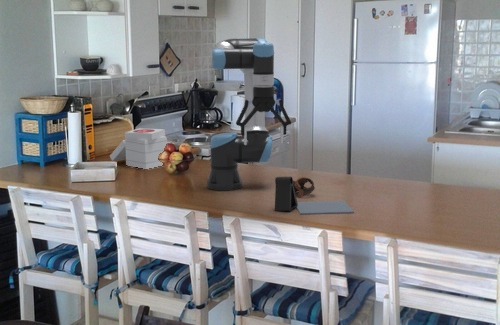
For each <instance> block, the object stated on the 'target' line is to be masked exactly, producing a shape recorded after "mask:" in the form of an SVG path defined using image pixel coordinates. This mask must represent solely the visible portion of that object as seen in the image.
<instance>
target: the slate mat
mask: <svg viewBox="0 0 500 325" xmlns="http://www.w3.org/2000/svg"><path fill="white" fill-rule="evenodd" d="M297 203H298V206H296V207H295V208H296V210H297V211H298V213H299V215H322V214H323V215H328V214H329V215H330V214H332V215H334V214H355V211H354V210H353V209H352V208H351V206H349V204H348V203H347V202H346V201H345V200H328V201H327V200H324V201H323V200H319V201H297Z"/></svg>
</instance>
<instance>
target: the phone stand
mask: <svg viewBox="0 0 500 325" xmlns="http://www.w3.org/2000/svg"><path fill="white" fill-rule="evenodd" d="M293 181H294V179H293V176H276V177H275V179H274V182H275V193H274V197H275V198H274V211H275V212H290V211H292V210H294V209H295V208H296V206H298V203H297V202H298V200H297V193H295V190H294V186H293Z"/></svg>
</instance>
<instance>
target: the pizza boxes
mask: <svg viewBox="0 0 500 325" xmlns="http://www.w3.org/2000/svg"><path fill="white" fill-rule="evenodd" d="M166 144H167V145H168V138H167V136H166V129H165V128H164V129H163V128H161V129H160V128H142V127H141V128H140V127H139V128H135V129H132V130H129V131H125V132H124V139H123V140H122V141H120V143H119V144H117V146H116V148H115V149H114V150H113V151H112V152H111V153H110V155H109V158H110V160H111V161H112V162H114V161H119V160H125V165H128V166H133V167H138V168H143V169H142V170H144V169H148V170H150V169H149V168H152V169H155V168H154V167H157V168H159V167H158V166H162V165H163V163H162V162H160V161H159V160H158V156H159V154H160V153H162V152H163V151H164V148H165V146H166ZM133 167H132V168H133ZM162 167H163V166H162ZM138 168H137V169H138Z"/></svg>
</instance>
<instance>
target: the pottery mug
mask: <svg viewBox="0 0 500 325" xmlns="http://www.w3.org/2000/svg"><path fill="white" fill-rule="evenodd" d="M306 183H309V184H310V186H309V187H307V186H305V184H306ZM293 186H294V190H295V194H297V196H298V197H299V198H302V197H303V196H306V195H309V194H312V193H313V192H314V191H315V189H316V188H315V183H314V181H313V180H312V179H311V178H308V177H305V176H301V177H298V178H297V179H296V180H293Z"/></svg>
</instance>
